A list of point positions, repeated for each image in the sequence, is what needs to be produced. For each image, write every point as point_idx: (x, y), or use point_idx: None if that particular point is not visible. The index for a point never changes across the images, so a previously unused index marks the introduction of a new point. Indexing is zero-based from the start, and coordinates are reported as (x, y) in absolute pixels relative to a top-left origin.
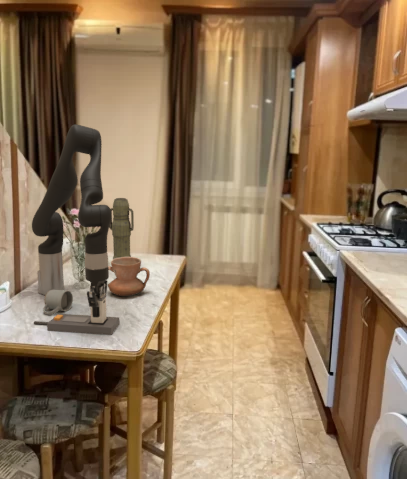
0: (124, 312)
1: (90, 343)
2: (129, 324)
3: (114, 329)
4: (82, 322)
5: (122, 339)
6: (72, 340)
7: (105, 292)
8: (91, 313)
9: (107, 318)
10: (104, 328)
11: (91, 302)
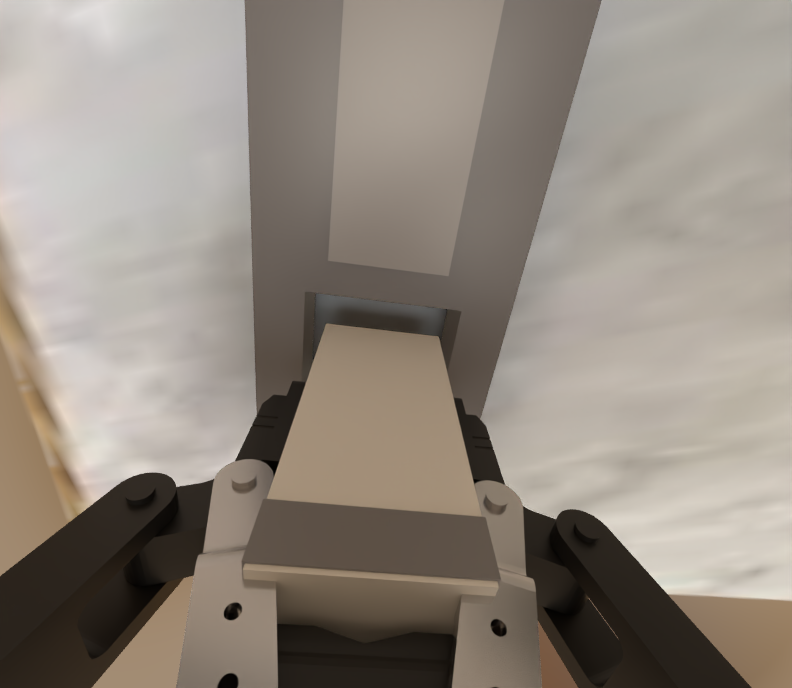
0: (666, 451)
1: (104, 337)
2: None
3: None
4: (329, 237)
5: None
6: (104, 184)
7: (564, 662)
8: (309, 378)
9: None
10: None
11: (208, 517)
